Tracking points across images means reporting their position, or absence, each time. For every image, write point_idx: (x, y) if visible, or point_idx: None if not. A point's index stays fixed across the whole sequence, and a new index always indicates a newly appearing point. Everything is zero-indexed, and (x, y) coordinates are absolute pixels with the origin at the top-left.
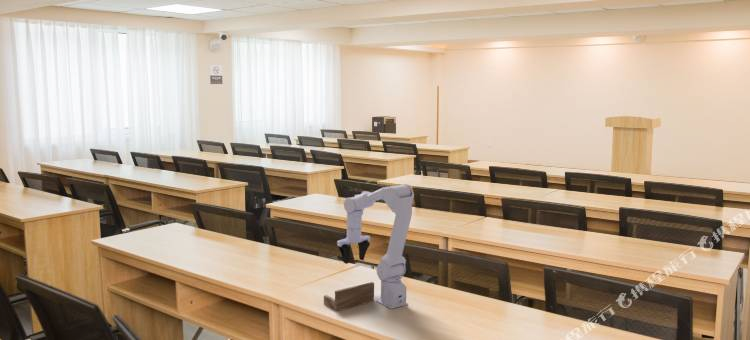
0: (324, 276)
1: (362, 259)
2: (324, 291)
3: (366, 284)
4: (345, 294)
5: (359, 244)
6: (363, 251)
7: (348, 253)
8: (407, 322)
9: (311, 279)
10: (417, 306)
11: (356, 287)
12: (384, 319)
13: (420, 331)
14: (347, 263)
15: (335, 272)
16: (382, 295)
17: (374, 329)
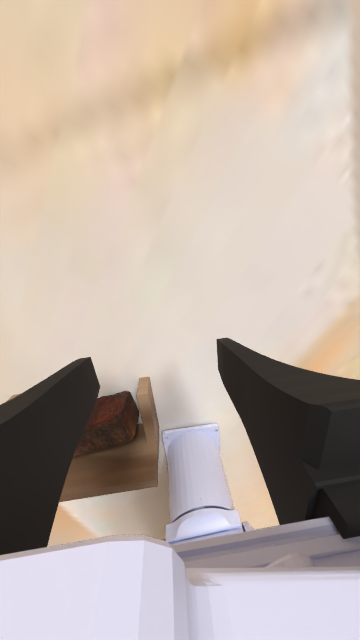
0: (94, 100)
1: (220, 373)
2: (40, 304)
3: (125, 489)
4: None
5: (283, 422)
6: (246, 428)
7: (63, 477)
8: (163, 519)
9: (10, 111)
10: (230, 476)
11: (81, 497)
12: (129, 502)
13: None
14: (96, 387)
15: (177, 61)
16: (168, 472)
17: (90, 526)
